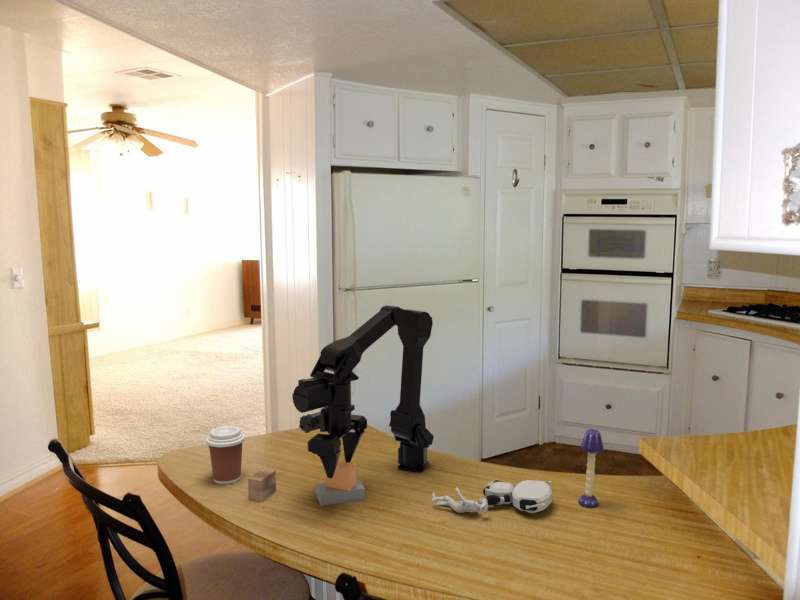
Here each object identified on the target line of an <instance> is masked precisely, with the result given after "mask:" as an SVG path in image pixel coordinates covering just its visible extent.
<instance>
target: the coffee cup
mask: <svg viewBox="0 0 800 600" xmlns="http://www.w3.org/2000/svg"><path fill="white" fill-rule="evenodd" d="M245 439H246V435H245V434H244V433H243V432H242V430H241V429H240V428H239V427H238V426H236V425H235V426H234V425H222V426H219V427H215V428H213V429H211V430H210V432H209V434H208V436H207V437H206V438H205V443H206V445H207V446H208V448H209V455H210V463H211V464H210V465H211V470H212V478H213V479H212V480H213V481H214V482H213V483H216V484H219V485H220V484H221V485H229V484H233V483H236V482H238V481H239V480H241V478H242V463H243V462H242V461H243V460H242V459H243V442H245Z"/></svg>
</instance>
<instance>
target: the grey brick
mask: <svg viewBox="0 0 800 600" xmlns="http://www.w3.org/2000/svg"><path fill="white" fill-rule="evenodd" d="M314 486H315V497H316V499H317V500H318V503H319V505H321V506H320V507H323V506H324V505H325V506H330V504H332V505H338V504H343V503H344V502H345V503H351V502H358V500H359V501H363V500H364V499H365V500H366V488H365V486H364V485H363V483H362V482H361V480H360V478H359V477H356V486H355V487H354V488H352V489H351V490H350V491H346V490H341V489H335V488H329V487H325V481H324V482H318V483H315V485H314ZM337 503H338V504H337ZM325 506H324V507H325Z"/></svg>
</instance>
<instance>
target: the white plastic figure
mask: <svg viewBox="0 0 800 600" xmlns="http://www.w3.org/2000/svg"><path fill="white" fill-rule="evenodd" d="M455 490H456V492H457V493H458V494H457V495H458V497H459V499H460V501H455V500H454V499H453V498H452V497H451V496H449V495H443V496H436V493H435V492H434V491H433V492H432V499H431V501H432V502H433V503H434V502H437V503H436V506H438V507H439V506H448V507H450V508H451V509H452V510H453V511H454V512H456V513H458V514H463V513H465V512H473V513H477V512H484V514H486V513H487V512H488V509H489V505H488V503H487V500H485V501H484V502H483V503H482V504H481V503H480V502H479V501H477V500H473V499H470V500H469V499H467V498H465V497H464V496H463V494H462V492H461V491H460V489H459V487H455Z"/></svg>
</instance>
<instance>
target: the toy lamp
mask: <svg viewBox="0 0 800 600" xmlns="http://www.w3.org/2000/svg"><path fill="white" fill-rule="evenodd" d="M602 438H603V437H602V434H601V432H600V431H599V430H598V429H593V428H588V429H587V430H586V431H585V433H584V436H583V438H582V442H581V444H580V447H581V450H583V451H584V452H587V463H586V473H585V474H586V476H585V481H586V482H585V485H584V487H585V490H584V494H582V495H580V496H579V498H578V504H579V505H580V506H582V507H584V508H588V509H593V508H594V509H595V508H598V506H599V505H600V504H599V501H598V498H597V497H596V496H595V495H594V491H593V490H594V481H595V474H596V473H595V468H596V463H595V462H596V454H598V453H602V452H603V451H604V443H603V439H602Z"/></svg>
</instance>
